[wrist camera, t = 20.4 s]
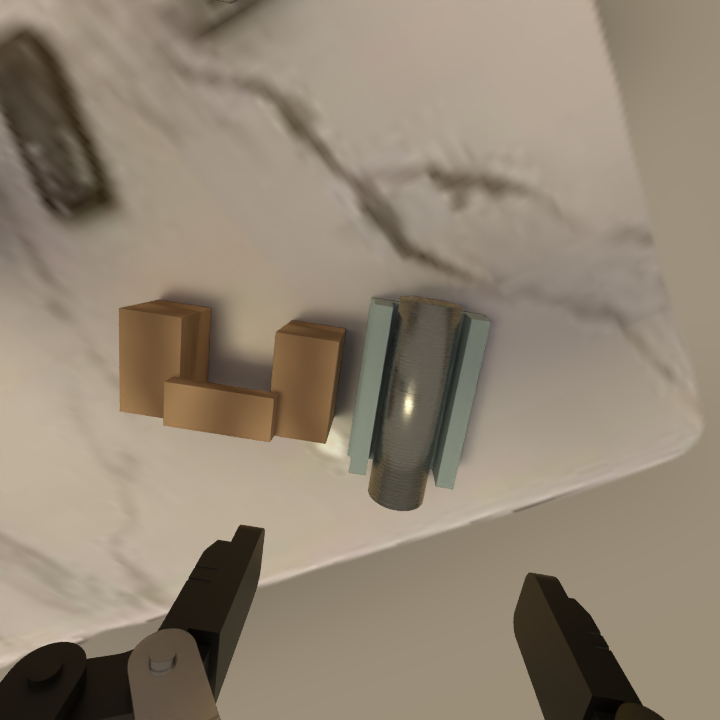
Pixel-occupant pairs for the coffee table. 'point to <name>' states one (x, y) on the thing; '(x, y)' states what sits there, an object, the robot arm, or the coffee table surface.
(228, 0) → the can
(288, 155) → the coffee table surface
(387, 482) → the axle
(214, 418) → the brown h-shaped block
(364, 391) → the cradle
